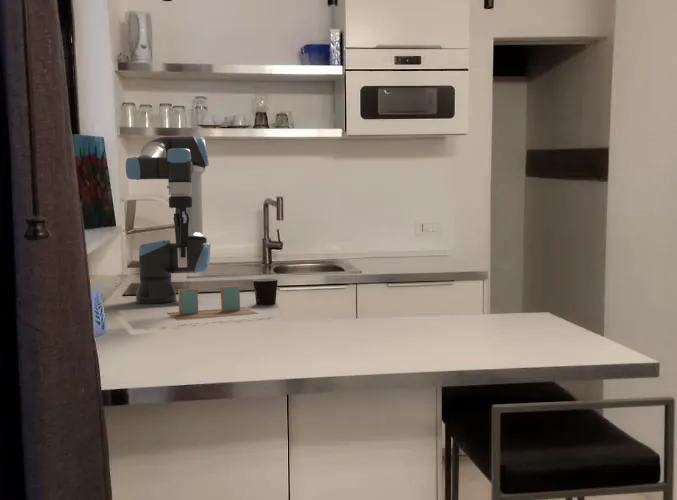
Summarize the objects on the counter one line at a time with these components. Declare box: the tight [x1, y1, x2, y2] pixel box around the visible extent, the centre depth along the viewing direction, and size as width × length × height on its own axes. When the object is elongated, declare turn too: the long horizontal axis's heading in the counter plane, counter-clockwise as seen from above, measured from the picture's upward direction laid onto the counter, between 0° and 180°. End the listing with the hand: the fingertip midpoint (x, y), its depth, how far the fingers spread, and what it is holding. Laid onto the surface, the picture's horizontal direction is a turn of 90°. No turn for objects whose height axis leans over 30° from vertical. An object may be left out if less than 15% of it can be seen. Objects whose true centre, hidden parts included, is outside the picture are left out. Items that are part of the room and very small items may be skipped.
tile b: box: [220, 285, 241, 311], centre depth 235 cm, size 2×6×8 cm, turn 114°
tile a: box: [177, 287, 199, 315], centre depth 229 cm, size 2×6×8 cm, turn 114°
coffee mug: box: [252, 278, 278, 306], centre depth 251 cm, size 12×9×10 cm
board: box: [166, 306, 259, 325], centre depth 230 cm, size 17×26×2 cm, turn 114°
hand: (182, 267), depth 235 cm, fingers closed
